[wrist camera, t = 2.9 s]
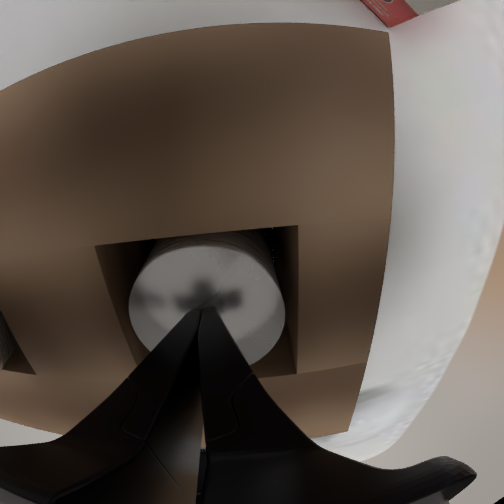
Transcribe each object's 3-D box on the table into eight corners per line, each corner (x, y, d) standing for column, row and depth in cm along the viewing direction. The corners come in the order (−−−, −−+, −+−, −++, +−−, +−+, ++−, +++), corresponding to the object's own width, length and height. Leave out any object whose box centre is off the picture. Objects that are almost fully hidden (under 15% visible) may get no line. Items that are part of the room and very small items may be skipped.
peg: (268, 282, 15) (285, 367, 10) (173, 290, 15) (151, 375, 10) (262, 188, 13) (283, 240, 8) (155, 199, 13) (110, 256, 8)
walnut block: (321, 352, 18) (347, 431, 13) (23, 359, 18) (-9, 415, 12) (324, 61, 11) (388, 32, 6) (-52, 152, 11) (-118, 180, 5)
